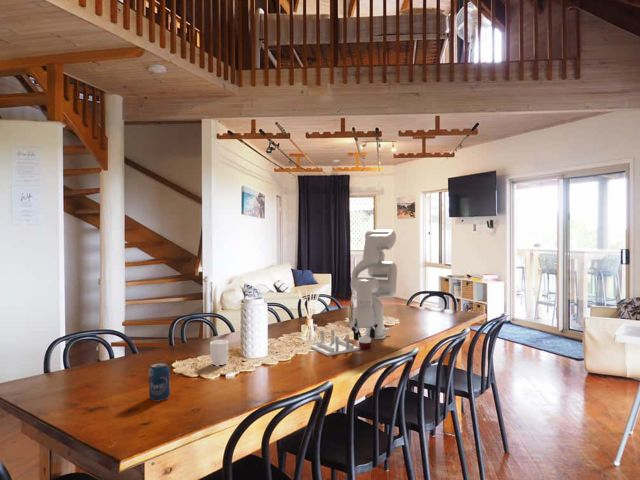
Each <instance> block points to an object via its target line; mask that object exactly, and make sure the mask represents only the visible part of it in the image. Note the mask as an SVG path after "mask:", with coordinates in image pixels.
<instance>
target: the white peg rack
mask: <svg viewBox="0 0 640 480" xmlns="http://www.w3.org/2000/svg"><path fill="white" fill-rule="evenodd" d="M330 333H331V334H330V337H331V338H330V339H331V340H330V341H331V342H326V343H325V330H323V329H322V330H321V331H320V341H319V340H317V341H316V344H314V345H312V344H311V345H310V348H311V349H312V350H314V351H316V352H319V353H321V354H323V355H325V356H326V357H329V356H334V355H340V354H345V353H351V352H356V351H360V346H356V345H354V344H352V343H350V334H349V333H348V334H347V333H346V334H345V340H342V339H340V337H339V336H338V335H335V329H334V328H331V329H330Z"/></svg>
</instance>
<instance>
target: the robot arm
mask: <svg viewBox="0 0 640 480" xmlns="http://www.w3.org/2000/svg"><path fill="white" fill-rule="evenodd" d="M364 235H365V236H364V238H365V240H364V245H363V247H364V248H363V255H362V259H361V260H360V261H359V262H358V263H357V264H356V265H355V267H354V268H353V270H352V272H351V277H350V278H351V279H350V289H351V291H352V292H354V293H356V307H355V308H354V311H353V319H352V320H351V321H350V322H349V323H348V325H349V327H350V330H351V331H352V332H353V341H357V342H359V338H360V337H359V333H358V330H359V331H360V330H361V329H364V328H365V333H363V334H362V336H363V335H368V336H369V337H370V338H371V340H383V339H385V338H386V337H387V334H386V333H389V332H391V328H389V327H388V328H385V327H384V305H383V302H382V301H381V299H380V298H393V297H394V296H395V295H396V293H397V292H396V291H397V279H398V277H397V276H398V268H397V264H396V262H394V261H391V260H390V261H387V260H386V261H385V252H384V251H390V250H391V249H392V248H393V247H394V245H395V243H396V241H397V235H396V232H395V231H394V230H393V229H372V230H368V231H366V232H365V234H364ZM365 270H367V273H368V277H364V276H363V277H361V276H360V274H361V273H362V272H364V271H365ZM359 276H360V277H359Z"/></svg>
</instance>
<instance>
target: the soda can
mask: <svg viewBox="0 0 640 480" xmlns="http://www.w3.org/2000/svg"><path fill="white" fill-rule="evenodd" d="M170 376H171V374H170V367H169V366H168V363H167V362H165V361H164V362H163V361H161V362H160V361H159V362H154V363H151V364H150V367H149V370H148V391H149V398H150V399H151V400H152V401H153V400H154V402H156V401H157V402H159V401H160V400H161V401H165V400H167V399H168V398H169V396H170V395H171V380H170V379H171V377H170ZM164 399H165V400H164Z"/></svg>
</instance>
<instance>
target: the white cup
mask: <svg viewBox="0 0 640 480" xmlns="http://www.w3.org/2000/svg"><path fill="white" fill-rule="evenodd" d="M209 345H210V348H209V349H210V359H211V365H212V364H214V365H221V364H226V363H227V364H228V360H229V359H228V358H229V340H228V339H215V340H212V341H210V342H209ZM227 364H226V365H227Z"/></svg>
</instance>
